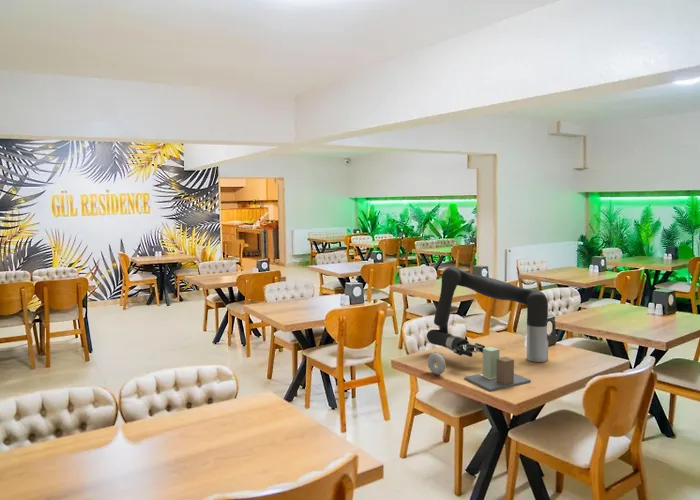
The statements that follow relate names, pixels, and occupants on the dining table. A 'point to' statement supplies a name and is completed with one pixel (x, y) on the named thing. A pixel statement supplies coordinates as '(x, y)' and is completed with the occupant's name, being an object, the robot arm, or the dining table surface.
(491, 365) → the green pillar
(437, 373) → the donut
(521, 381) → the build plate
